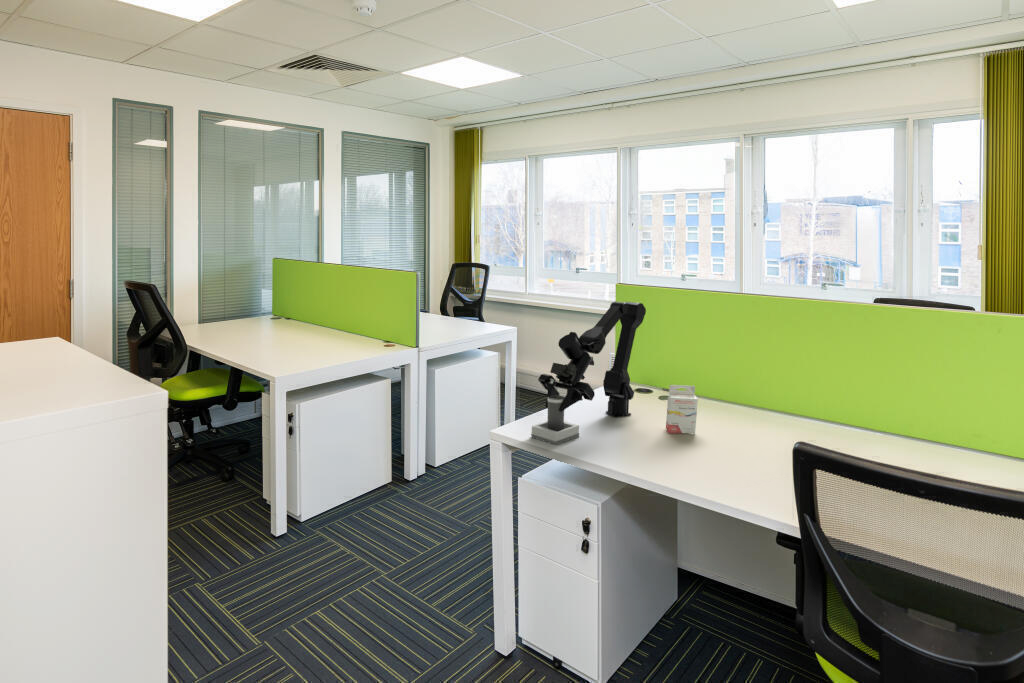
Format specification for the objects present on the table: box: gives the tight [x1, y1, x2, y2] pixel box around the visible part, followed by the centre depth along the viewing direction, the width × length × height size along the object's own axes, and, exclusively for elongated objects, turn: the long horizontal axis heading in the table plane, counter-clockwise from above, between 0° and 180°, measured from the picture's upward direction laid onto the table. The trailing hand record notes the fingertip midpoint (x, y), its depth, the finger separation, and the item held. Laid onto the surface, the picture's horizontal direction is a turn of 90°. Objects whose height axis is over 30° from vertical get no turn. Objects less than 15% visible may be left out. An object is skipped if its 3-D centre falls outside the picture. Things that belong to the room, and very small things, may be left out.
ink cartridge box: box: [665, 384, 699, 435], centre depth 194 cm, size 9×5×15 cm, turn 84°
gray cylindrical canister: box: [547, 395, 565, 432], centre depth 188 cm, size 5×5×10 cm
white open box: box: [530, 420, 580, 446], centre depth 189 cm, size 11×10×4 cm
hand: (553, 409), depth 187 cm, fingers closed on gray cylindrical canister, 5 cm apart
